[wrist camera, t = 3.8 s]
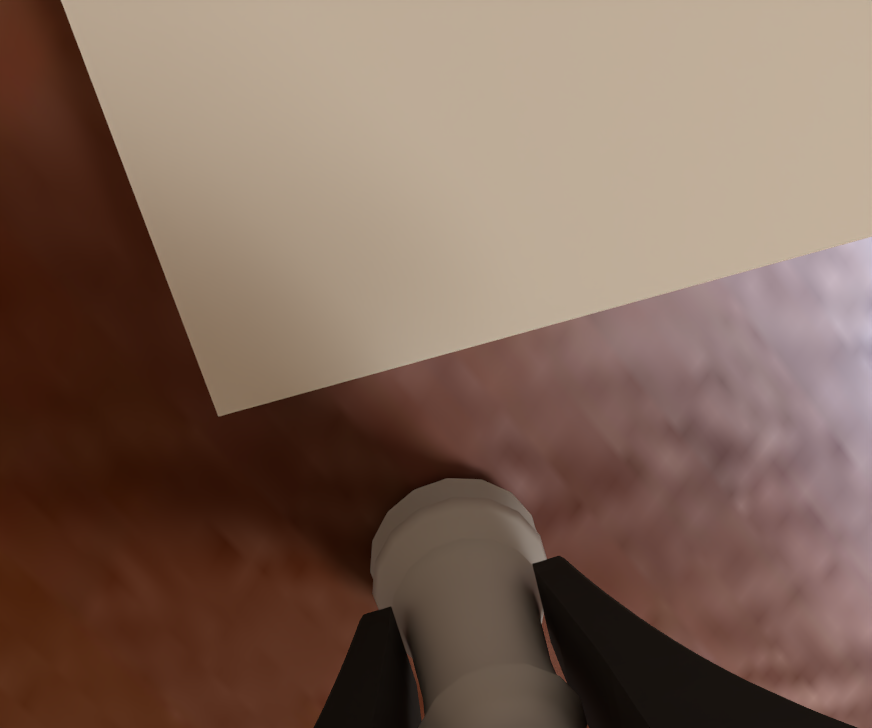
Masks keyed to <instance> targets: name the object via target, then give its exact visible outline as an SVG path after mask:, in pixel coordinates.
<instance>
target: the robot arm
mask: <svg viewBox="0 0 872 728" xmlns="http://www.w3.org/2000/svg"><path fill="white" fill-rule="evenodd" d="M532 565H533V570H534V574H535V578H536V582H537V586H538V590H539V595H540V599H541V603H542V607H543V611H544V615H545V620H546V624H547V628H548V632H549V636H550V640H551V644H552V646H553V649H554V651H555V654H556V656H557V659H558V661H559V664H560V666H561V669H562V671H563V674H564V676H565V679H566V681H567V684H568V685H569V686H570V687H571V688H572V689H573V690H574V691H575V692H576V693H577V694H578V695H579V697H580V700H581V703H582V707H583V710H584V713H585V717H586V720H587V724H588V726H589V728H857V727H854V726H852V725H849V724H846V723H844V722H841V721H839V720H836V719H833V718H831V717H828V716H826V715H823V714H821V713H818V712H816V711H813V710H811V709H809V708H806V707H804V706H801V705H799V704H797V703H795V702H793V701H790V700H788V699H786V698H784V697H782V696H779V695H777V694H775V693H773V692H770V691H768V690H766V689H764V688H762V687H759V686H757V685H755V684H753V683H751V682H748V681H746V680H745V679H743V678H741V677H739V676H737V675H735V674H733V673H731V672H729V671H727V670H725V669H723V668H721V667H719V666H718V665H716V664H714V663H712V662H710V661H709V660H707V659H705V658H703V657H701V656H700V655H698V654H696V653H694V652H693V651H691V650H689V649H688V648H686V647H684V646H683V645H681V644H679V643H678V642H676V641H674V640H673V639H671V638H670V637H668V636H667V635H665V634H664V633H662V632H660V631H659V630H657V629H656V628H654V627H653V626H651V625H650V624H648V623H647V622H645V621H644V620H642V619H641V618H639V617H638V616H637V615H635V614H634V613H632V612H631V611H630V610H628V609H627V608H625V607H624V606H623V605H621V604H620V603H619V602H617V601H616V600H614V599H613V598H612V597H610V596H609V595H608V594H607V593H605V592H604V591H603V590H601V589H600V588H599V587H598V586H596V585H595V584H594V583H593V582H591V581H590V580H589V579H588V578H586V577H585V576H584V575H583V574H582V573H580V572H579V571H578V570H577V569H576V568H575V567H573V566H572V565H571V564H570V563H569V562H568V561H567V560H565V559H564V558H562V557H561V556H557V557H553V558H550V559H547V560H543V561H540V562H537V563H533V564H532ZM421 722H422V721H421V714H420V706H419V699H418V692H417V685H416V681H415V678H414V675H413V672H412V669H411V666H410V663H409V659H408V656H407V653H406V650H405V647H404V644H403V641H402V638H401V635H400V632H399V628H398V625H397V622H396V619H395V616H394V613H393V610H392V607H391V606H390V607H387V608H384V609H380V610H377V611H374V612H371V613H367V614H364V615H363V616H362V618H361V620H360V622H359V624H358V627H357V630H356V632H355V635H354V638H353V640H352V643H351V645H350V648H349V650H348V653H347V655H346V658H345V660H344V663H343V665H342V667H341V670H340V672H339V674H338V677H337V679H336V681H335V683H334V686H333V688H332V690H331V692H330V695H329V697H328V699H327V701H326V704H325V706H324V708H323V710H322V712H321V714H320V716H319V718H318V720H317V722H316V724H315V726H314V728H418V727H419V725H420V724H421Z"/></svg>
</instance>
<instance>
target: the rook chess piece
mask: <svg viewBox="0 0 872 728" xmlns="http://www.w3.org/2000/svg"><path fill="white" fill-rule="evenodd" d="M543 560H547V558H546V555H545V551H544V548H543V544H542V541H541V538H540V535H539V534H538V532H537V531H536V529H535V525H534V522H533V519H532V515H531V514H530V513H529V512H528V511H527V510H526V509H525V507H524V506H523V505H522V504H521V503H520V502H519V501H518V500H517V499H516V497H515V496H514V495H513V494H512V493H511V492H509V491H507V490H504V489H502V488H500V487H498V486H495V485H493V484H491V483H489V482H486V481H484V480H482V479H457V478H446V479H443V480H441V481H438V482H435V483H432V484H429V485H426V486H423V487H420V488H417V489H414V490H413V491H412V492H411V493H409V494H408V495H407V496H406V497H405V498H403V499H402V500H401V501H400V502H399V503H397V504H396V505H395V506H394V507H393V508H392V509H390V510H389V511H388V512H387V514H386V516H385V518H384V520H383V521H382V523H381V525H380V527H379V529H378V531H377V533H376V535H375V537H374V538H373V540H372V552H371V567H370V572H371V575H372V578H373V593H372V594H373V596H374V599H375V601H376V604H377V606H378V609H379V610H380V609H384V608H387V607H390V606H391V607H392V610H393V613H394V616H395V619H396V622H397V625H398V628H399V632H400V635H401V638H402V641H403V644H404V647H405V650H406V653H407V654H408V655H409V656H411V657H412V658H413V662H414V666H415V670H416V673H417V677H418V681H419V685H420V689H421V693H422V696H423V703H424V713H425V717H424V719H423V720H422V722H421V724H420V725H419V727H418V728H586V727H587V720H586V717H585V713H584V710H583V707H582V703H581V700H580V697H579V695H578V694H577V693H576V692H575V691H574V690H573V689H572V688H571V687H570V686H569V685H568V684H567V683H566V682H565V681H564V680H563V679H562V678H561V677H560V676H558V675H556V672H555V670H554V668H553V665H552V663H551V660H550V656H549V652H548V648H547V644H546V640H545V636H544V632H543V628H542V619H543V612H544V611H543V607H542V603H541V599H540V595H539V590H538V586H537V582H536V578H535V574H534V570H533V565H532V564H533V563H537V562H540V561H543Z"/></svg>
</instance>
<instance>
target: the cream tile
mask: <svg viewBox="0 0 872 728" xmlns="http://www.w3.org/2000/svg"><path fill="white" fill-rule="evenodd" d="M61 2H62V4H63V7H64V10H65V12H66V15H67V18H68V20H69V23H70V26H71V28H72V31H73V34H74V36H75V39H76V41H77V44H78V47H79V49H80V52H81V55H82V57H83V60H84V63H85V65H86V68H87V71H88V73H89V76H90V79H91V81H92V84H93V86H94V89H95V92H96V94H97V97H98V100H99V102H100V105H101V108H102V110H103V113H104V116H105V118H106V121H107V124H108V126H109V129H110V131H111V134H112V137H113V139H114V142H115V145H116V147H117V150H118V153H119V155H120V158H121V161H122V163H123V166H124V169H125V171H126V174H127V176H128V179H129V182H130V184H131V187H132V190H133V192H134V195H135V198H136V200H137V203H138V206H139V208H140V211H141V213H142V216H143V219H144V221H145V224H146V227H147V229H148V232H149V235H150V237H151V240H152V243H153V245H154V248H155V251H156V253H157V256H158V258H159V261H160V264H161V266H162V269H163V272H164V274H165V277H166V280H167V282H168V285H169V288H170V290H171V293H172V296H173V298H174V301H175V303H176V306H177V309H178V311H179V314H180V317H181V319H182V322H183V325H184V327H185V330H186V333H187V335H188V338H189V341H190V343H191V346H192V348H193V351H194V354H195V356H196V359H197V362H198V364H199V367H200V370H201V372H202V375H203V378H204V380H205V383H206V385H207V388H208V391H209V393H210V396H211V399H212V401H213V404H214V407H215V409H216V412H217V415H218V417H219V416H223V415H226V414H230V413H233V412H237V411H241V410H244V409H248V408H252V407H255V406H259V405H262V404H266V403H270V402H273V401H277V400H281V399H284V398H288V397H291V396H295V395H299V394H302V393H306V392H310V391H313V390H317V389H320V388H324V387H328V386H331V385H335V384H339V383H342V382H346V381H349V380H353V379H357V378H360V377H364V376H368V375H371V374H375V373H378V372H382V371H386V370H389V369H393V368H397V367H400V366H404V365H408V364H411V363H415V362H418V361H422V360H426V359H429V358H433V357H437V356H440V355H444V354H447V353H451V352H455V351H458V350H462V349H466V348H469V347H473V346H476V345H480V344H484V343H487V342H491V341H495V340H498V339H502V338H505V337H509V336H513V335H516V334H520V333H524V332H527V331H531V330H534V329H538V328H542V327H545V326H549V325H553V324H556V323H560V322H563V321H567V320H571V319H574V318H578V317H582V316H585V315H589V314H592V313H596V312H600V311H603V310H607V309H611V308H614V307H618V306H621V305H625V304H629V303H632V302H636V301H640V300H643V299H647V298H650V297H654V296H658V295H661V294H665V293H669V292H672V291H676V290H680V289H683V288H687V287H690V286H694V285H698V284H701V283H705V282H709V281H712V280H716V279H719V278H723V277H727V276H730V275H734V274H738V273H741V272H745V271H748V270H752V269H756V268H759V267H763V266H767V265H770V264H774V263H777V262H781V261H785V260H788V259H792V258H796V257H799V256H803V255H806V254H810V253H814V252H817V251H821V250H825V249H828V248H832V247H835V246H839V245H843V244H846V243H850V242H854V241H857V240H861V239H864V238H868V237H872V0H61Z"/></svg>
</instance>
